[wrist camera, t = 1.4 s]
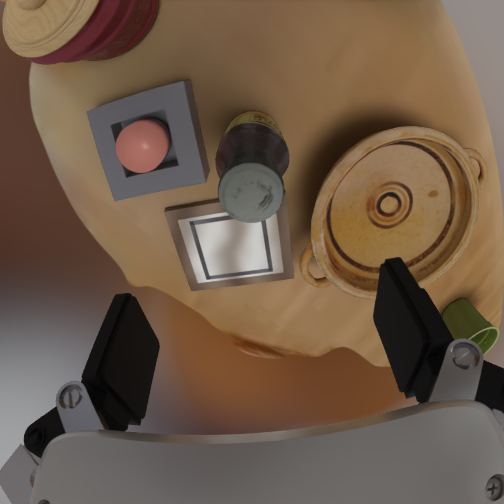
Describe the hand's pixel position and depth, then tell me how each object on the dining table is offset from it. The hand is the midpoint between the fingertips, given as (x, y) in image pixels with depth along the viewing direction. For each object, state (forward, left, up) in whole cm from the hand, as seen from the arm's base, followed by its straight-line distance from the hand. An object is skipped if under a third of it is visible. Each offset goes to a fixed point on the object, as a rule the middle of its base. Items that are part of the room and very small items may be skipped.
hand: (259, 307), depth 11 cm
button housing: (+12, -2, -29) cm, 31 cm away
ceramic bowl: (-17, +11, -29) cm, 35 cm away
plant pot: (-38, +39, -29) cm, 62 cm away
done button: (+12, -2, -26) cm, 29 cm away
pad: (+5, +15, -29) cm, 33 cm away
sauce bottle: (0, 0, -29) cm, 29 cm away
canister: (+14, -20, -29) cm, 38 cm away
